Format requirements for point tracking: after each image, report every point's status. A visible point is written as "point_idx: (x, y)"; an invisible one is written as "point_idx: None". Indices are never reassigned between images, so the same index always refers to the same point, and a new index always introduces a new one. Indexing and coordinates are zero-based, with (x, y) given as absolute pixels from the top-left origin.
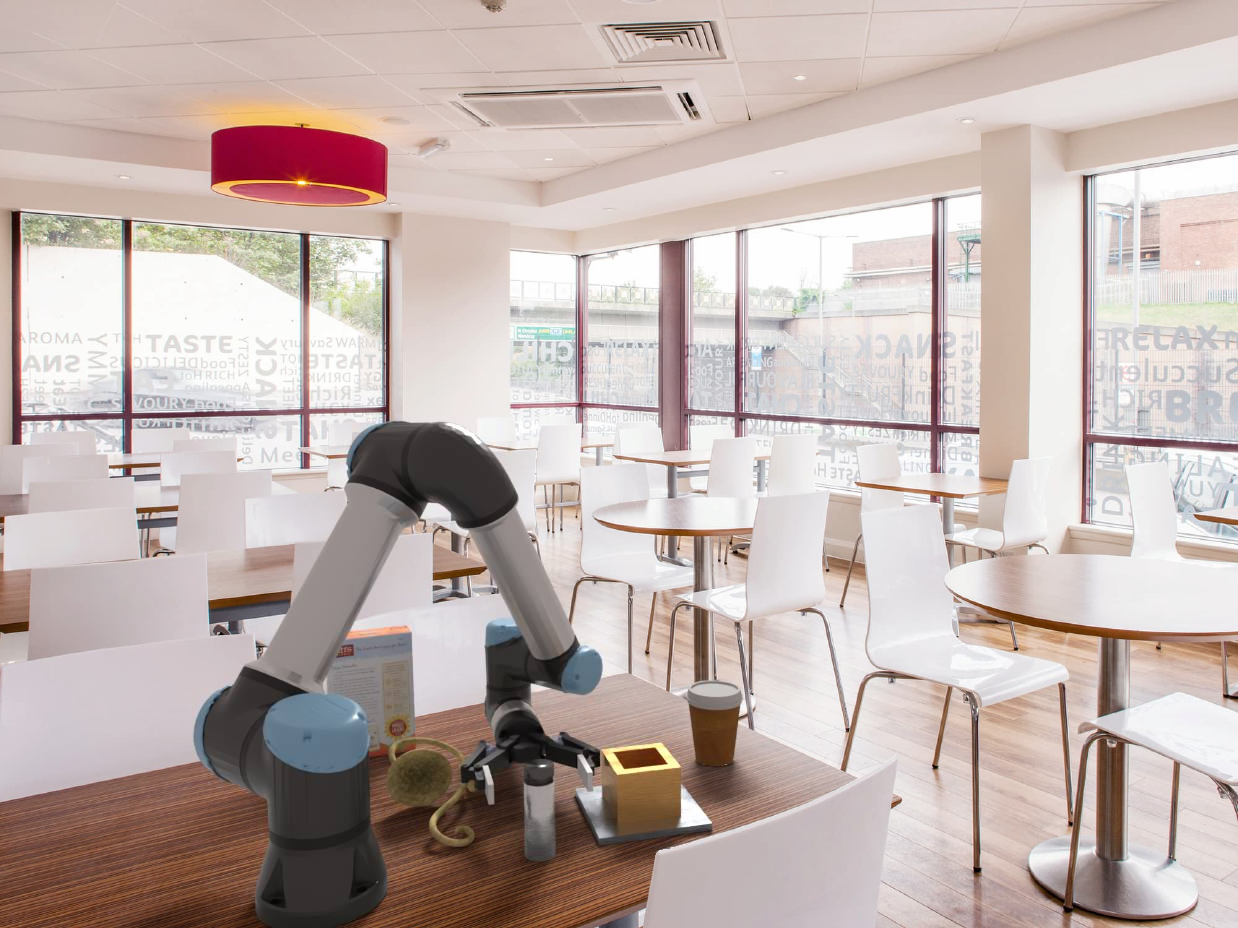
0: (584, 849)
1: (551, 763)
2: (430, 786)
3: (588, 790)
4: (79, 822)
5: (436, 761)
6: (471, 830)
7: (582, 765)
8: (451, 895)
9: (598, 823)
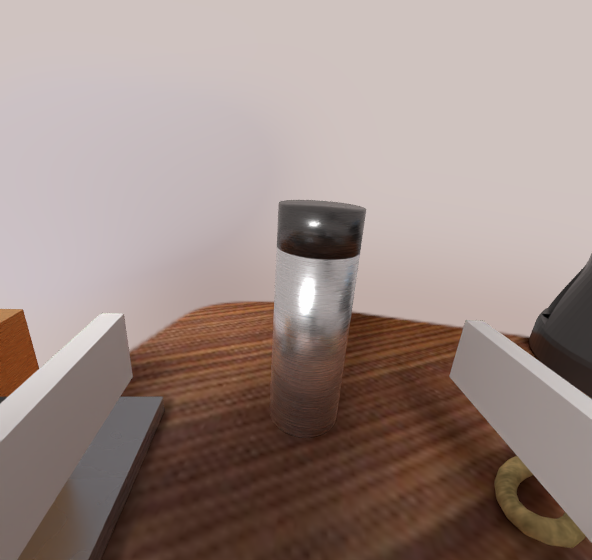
0: (204, 405)
1: (285, 204)
2: None
3: (130, 372)
4: None
5: None
6: (523, 509)
7: (72, 378)
8: (435, 347)
9: (111, 466)
